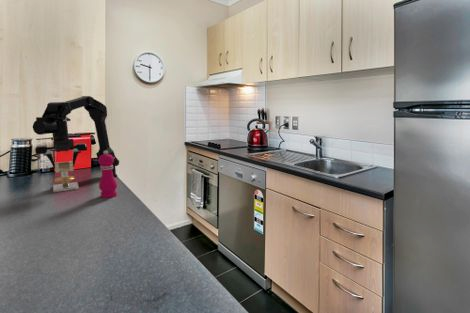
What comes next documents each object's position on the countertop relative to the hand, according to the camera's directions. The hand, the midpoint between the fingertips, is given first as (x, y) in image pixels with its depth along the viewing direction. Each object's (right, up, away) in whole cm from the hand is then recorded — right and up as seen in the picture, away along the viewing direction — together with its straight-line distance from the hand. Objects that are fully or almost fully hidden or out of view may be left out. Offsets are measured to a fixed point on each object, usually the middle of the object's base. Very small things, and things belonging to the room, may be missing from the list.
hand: (64, 167), depth 121 cm
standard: (-5, -10, +10) cm, 15 cm away
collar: (0, -1, 0) cm, 1 cm away
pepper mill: (+20, -12, -1) cm, 23 cm away
